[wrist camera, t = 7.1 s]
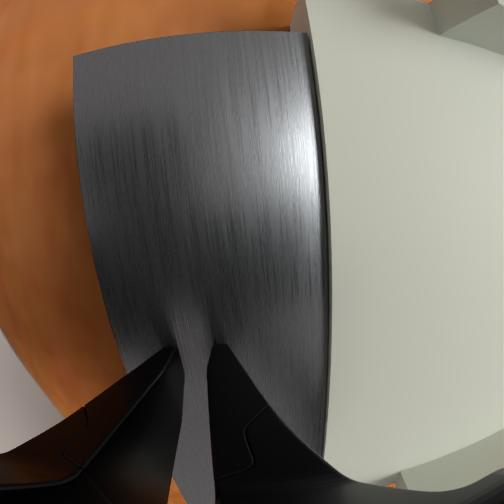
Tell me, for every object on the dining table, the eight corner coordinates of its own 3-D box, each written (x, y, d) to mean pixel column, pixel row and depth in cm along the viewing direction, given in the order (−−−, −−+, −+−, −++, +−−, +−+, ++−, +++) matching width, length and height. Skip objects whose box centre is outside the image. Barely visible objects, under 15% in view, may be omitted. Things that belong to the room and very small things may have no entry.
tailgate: (318, 482, 11) (189, 506, 10) (311, 467, 12) (187, 490, 11) (306, 32, 7) (73, 56, 6) (294, 44, 8) (84, 67, 7)
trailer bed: (486, 407, 14) (529, 465, 8) (311, 457, 14) (327, 547, 9) (522, 67, 9) (608, 54, 3) (289, 25, 9) (324, -80, 3)
